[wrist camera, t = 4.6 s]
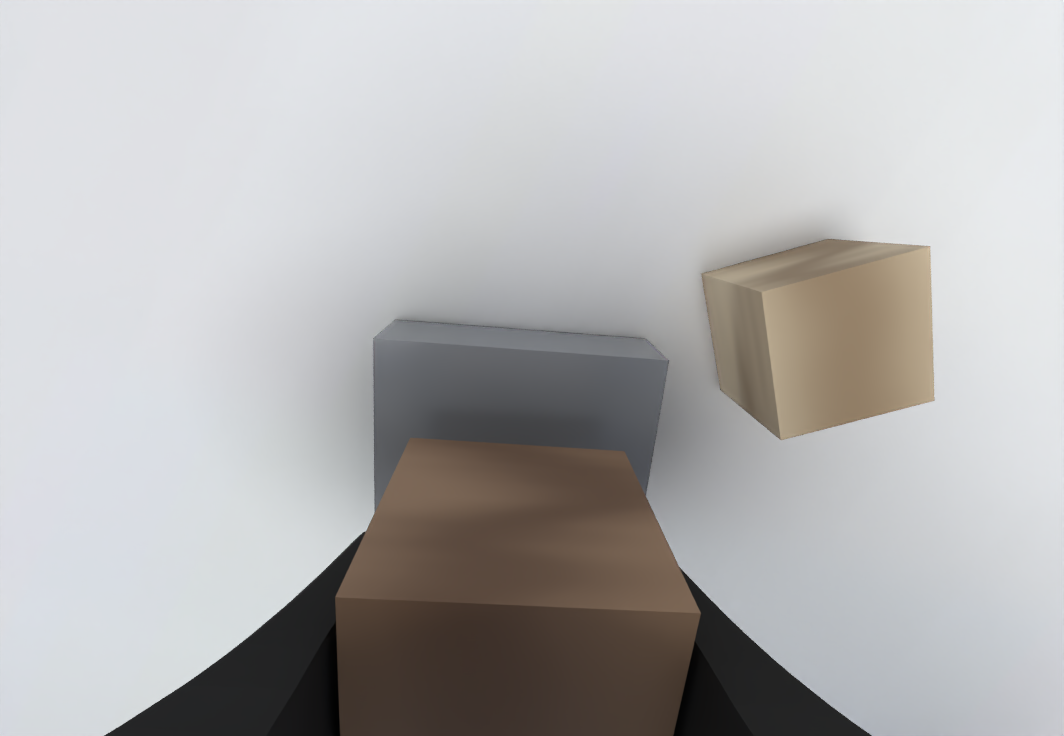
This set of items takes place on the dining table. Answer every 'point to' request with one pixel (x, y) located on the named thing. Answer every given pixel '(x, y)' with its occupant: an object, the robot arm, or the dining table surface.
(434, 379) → the slate base
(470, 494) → the walnut cube
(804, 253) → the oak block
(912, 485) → the dining table surface
